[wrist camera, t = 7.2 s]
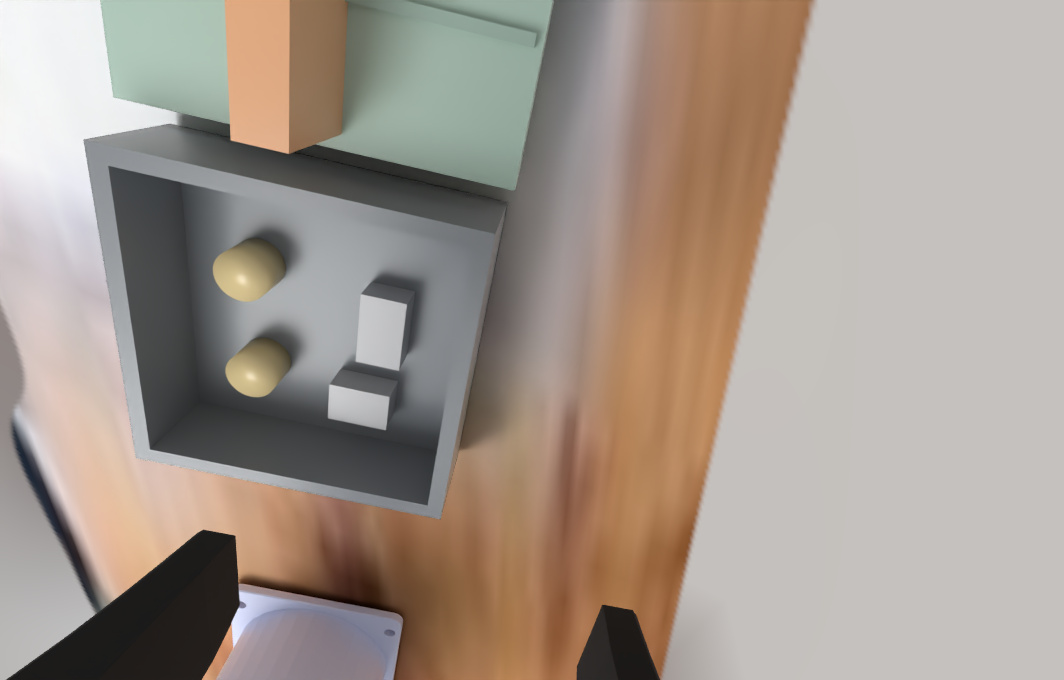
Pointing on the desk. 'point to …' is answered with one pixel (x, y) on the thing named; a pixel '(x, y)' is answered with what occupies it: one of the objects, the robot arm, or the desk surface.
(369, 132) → the lid
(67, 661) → the robot arm
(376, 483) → the tub
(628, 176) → the desk surface
